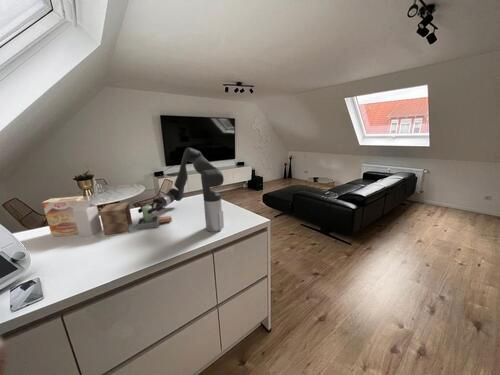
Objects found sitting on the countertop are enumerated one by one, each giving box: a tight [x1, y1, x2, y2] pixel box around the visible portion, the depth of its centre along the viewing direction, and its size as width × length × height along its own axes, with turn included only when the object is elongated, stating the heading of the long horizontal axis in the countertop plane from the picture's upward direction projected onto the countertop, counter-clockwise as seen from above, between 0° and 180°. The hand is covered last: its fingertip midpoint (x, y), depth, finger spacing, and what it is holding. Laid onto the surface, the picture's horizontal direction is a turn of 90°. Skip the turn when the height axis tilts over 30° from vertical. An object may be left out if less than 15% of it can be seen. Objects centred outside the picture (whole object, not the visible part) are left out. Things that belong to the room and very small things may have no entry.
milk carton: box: [73, 200, 103, 238], centre depth 105 cm, size 7×7×19 cm
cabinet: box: [99, 201, 133, 237], centre depth 111 cm, size 11×12×14 cm
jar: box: [141, 205, 154, 223], centre depth 116 cm, size 5×5×10 cm
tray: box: [136, 214, 173, 230], centre depth 119 cm, size 18×12×3 cm, turn 111°
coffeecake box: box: [41, 195, 85, 238], centre depth 108 cm, size 15×7×20 cm, turn 105°
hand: (143, 211), depth 113 cm, fingers open, 5 cm apart
